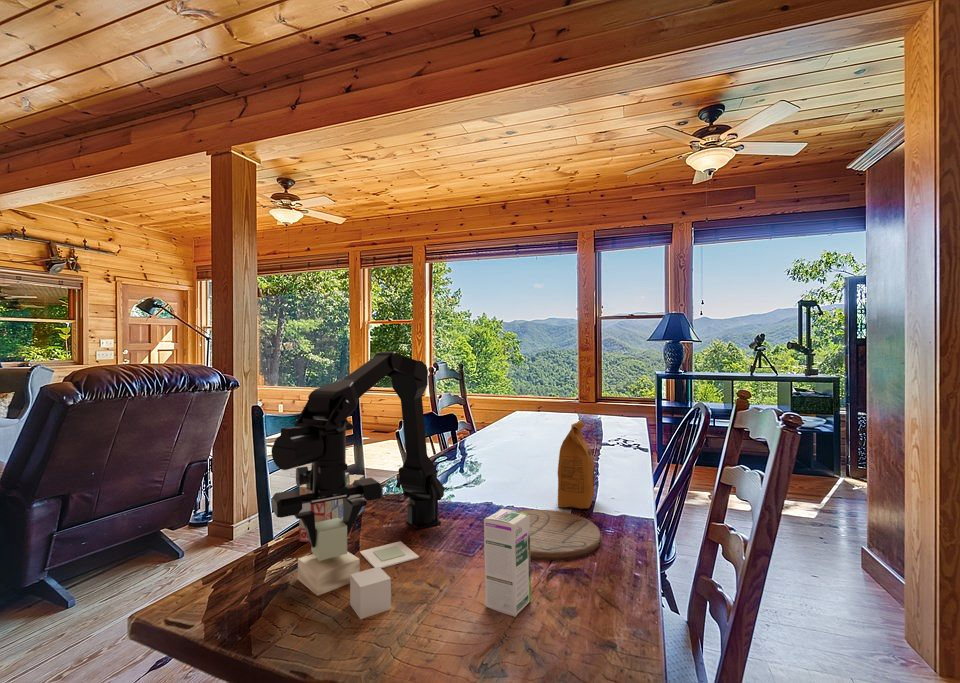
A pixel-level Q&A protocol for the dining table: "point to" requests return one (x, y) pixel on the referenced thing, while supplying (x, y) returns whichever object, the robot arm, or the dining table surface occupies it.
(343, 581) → the birch base block
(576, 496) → the coffee package
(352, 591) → the grey block
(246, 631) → the dining table surface
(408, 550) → the card
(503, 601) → the syrup box
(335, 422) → the robot arm
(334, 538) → the sage block
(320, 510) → the stack of blocks
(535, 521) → the trivet
